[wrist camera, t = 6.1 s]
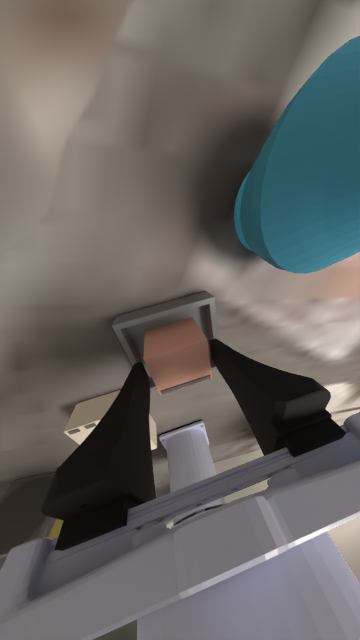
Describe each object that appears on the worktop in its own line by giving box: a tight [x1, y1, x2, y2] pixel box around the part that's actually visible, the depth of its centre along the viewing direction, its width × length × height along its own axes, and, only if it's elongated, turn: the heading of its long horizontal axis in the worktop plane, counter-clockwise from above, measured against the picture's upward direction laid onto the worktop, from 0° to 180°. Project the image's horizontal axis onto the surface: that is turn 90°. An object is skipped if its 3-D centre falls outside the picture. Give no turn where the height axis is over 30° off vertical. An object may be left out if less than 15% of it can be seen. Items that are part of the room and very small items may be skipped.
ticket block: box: [63, 390, 157, 450], centre depth 18 cm, size 10×7×3 cm
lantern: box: [0, 472, 63, 571], centre depth 24 cm, size 8×17×30 cm
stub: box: [143, 318, 213, 395], centre depth 13 cm, size 4×5×4 cm
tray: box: [112, 291, 218, 391], centre depth 15 cm, size 9×9×2 cm
